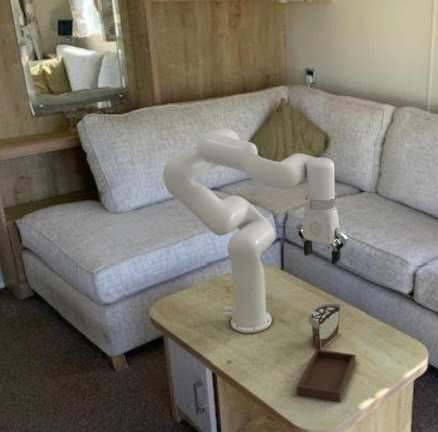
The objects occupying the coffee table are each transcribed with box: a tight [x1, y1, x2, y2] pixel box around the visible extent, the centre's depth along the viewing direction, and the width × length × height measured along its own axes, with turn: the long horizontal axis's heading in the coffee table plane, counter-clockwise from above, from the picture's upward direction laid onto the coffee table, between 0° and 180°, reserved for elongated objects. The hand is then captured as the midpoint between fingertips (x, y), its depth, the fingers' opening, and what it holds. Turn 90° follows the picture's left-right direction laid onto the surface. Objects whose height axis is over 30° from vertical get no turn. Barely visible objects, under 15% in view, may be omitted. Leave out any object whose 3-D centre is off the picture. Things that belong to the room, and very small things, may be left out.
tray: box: [296, 348, 357, 403], centre depth 170 cm, size 12×18×3 cm, turn 168°
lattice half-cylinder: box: [308, 303, 342, 350], centre depth 186 cm, size 12×6×10 cm, turn 150°
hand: (321, 258), depth 179 cm, fingers open, 9 cm apart
